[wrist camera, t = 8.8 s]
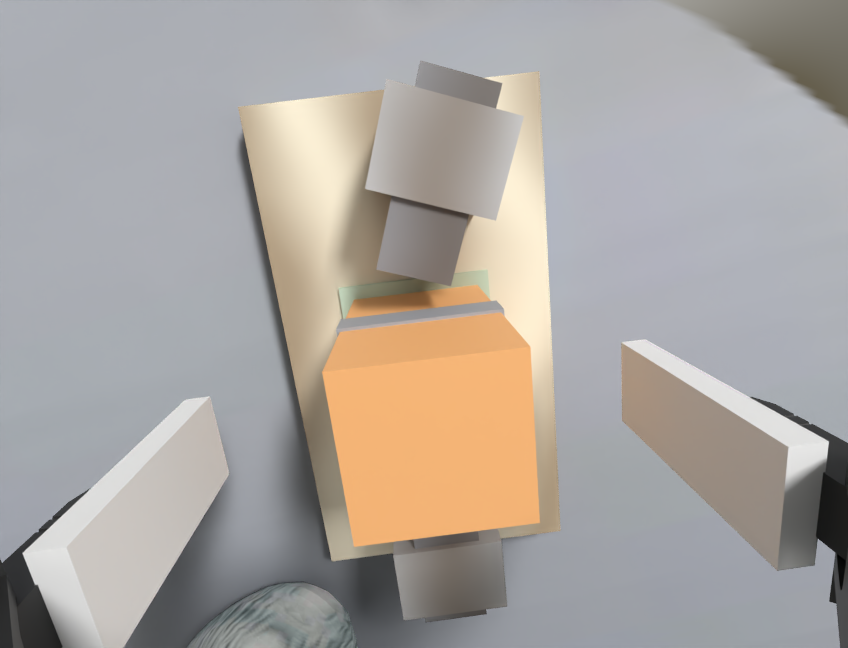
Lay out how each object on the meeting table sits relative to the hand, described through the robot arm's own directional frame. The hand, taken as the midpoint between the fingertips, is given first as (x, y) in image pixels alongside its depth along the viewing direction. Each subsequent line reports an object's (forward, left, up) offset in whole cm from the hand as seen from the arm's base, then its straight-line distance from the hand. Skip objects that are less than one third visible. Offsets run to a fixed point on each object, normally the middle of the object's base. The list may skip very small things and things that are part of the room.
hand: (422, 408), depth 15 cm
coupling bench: (0, 0, -7) cm, 7 cm away
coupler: (0, 0, -5) cm, 5 cm away
